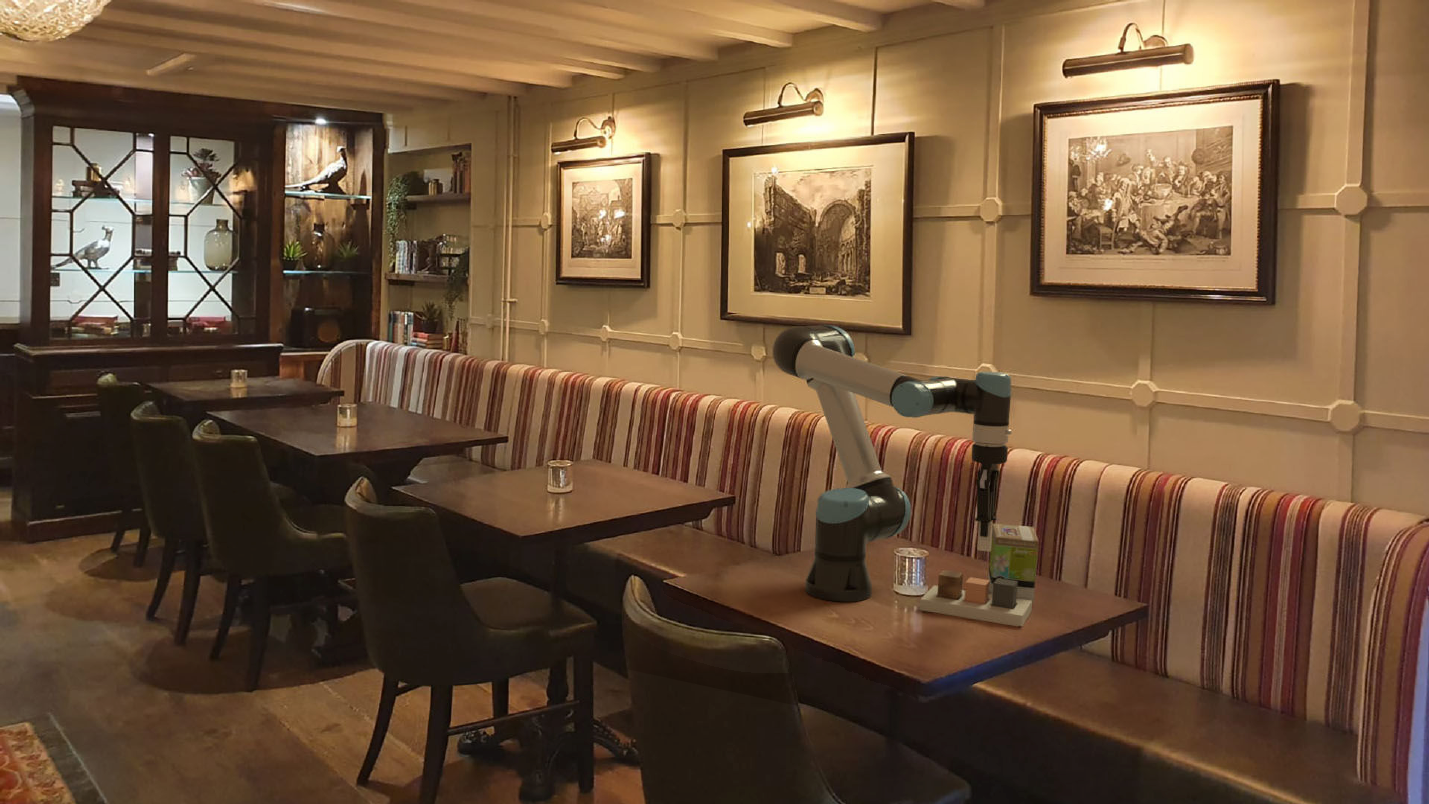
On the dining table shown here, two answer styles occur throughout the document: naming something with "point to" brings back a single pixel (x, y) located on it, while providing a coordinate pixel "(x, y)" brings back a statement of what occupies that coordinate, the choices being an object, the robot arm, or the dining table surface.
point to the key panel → (976, 608)
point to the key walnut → (950, 584)
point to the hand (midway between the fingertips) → (984, 550)
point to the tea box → (1014, 557)
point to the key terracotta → (977, 590)
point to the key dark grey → (1004, 593)
